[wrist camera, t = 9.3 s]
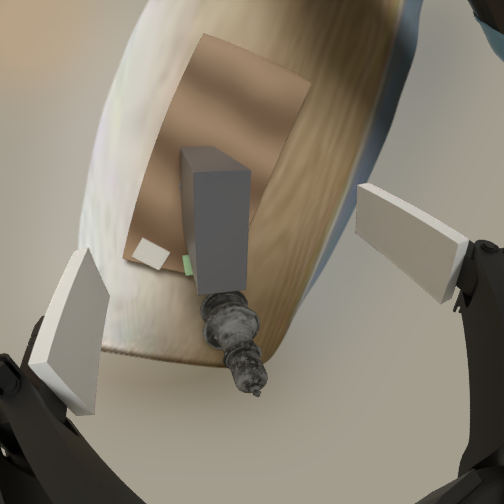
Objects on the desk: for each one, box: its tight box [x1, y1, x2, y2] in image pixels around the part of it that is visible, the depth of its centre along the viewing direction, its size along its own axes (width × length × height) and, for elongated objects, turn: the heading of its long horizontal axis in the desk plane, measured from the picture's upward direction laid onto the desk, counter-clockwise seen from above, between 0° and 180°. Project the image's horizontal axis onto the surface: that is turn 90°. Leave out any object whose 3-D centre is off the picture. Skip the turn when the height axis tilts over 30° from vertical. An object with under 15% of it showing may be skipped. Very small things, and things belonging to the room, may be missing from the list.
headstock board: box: [123, 33, 312, 273], centre depth 23 cm, size 20×10×2 cm, turn 156°
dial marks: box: [132, 238, 193, 276], centre depth 25 cm, size 3×9×1 cm, turn 73°
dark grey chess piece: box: [201, 291, 268, 397], centre depth 26 cm, size 6×6×12 cm
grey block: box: [179, 146, 251, 295], centre depth 19 cm, size 10×3×10 cm, turn 177°
